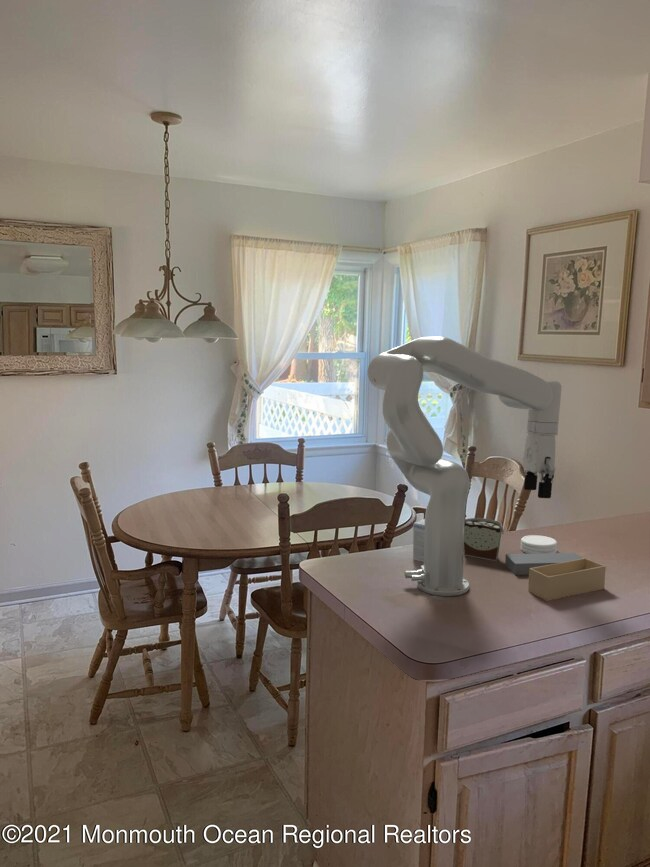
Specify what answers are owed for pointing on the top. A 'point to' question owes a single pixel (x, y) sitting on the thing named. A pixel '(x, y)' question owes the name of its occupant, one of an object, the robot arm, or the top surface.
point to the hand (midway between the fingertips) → (536, 493)
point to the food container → (482, 538)
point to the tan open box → (566, 578)
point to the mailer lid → (535, 561)
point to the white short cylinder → (538, 544)
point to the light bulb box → (418, 540)
